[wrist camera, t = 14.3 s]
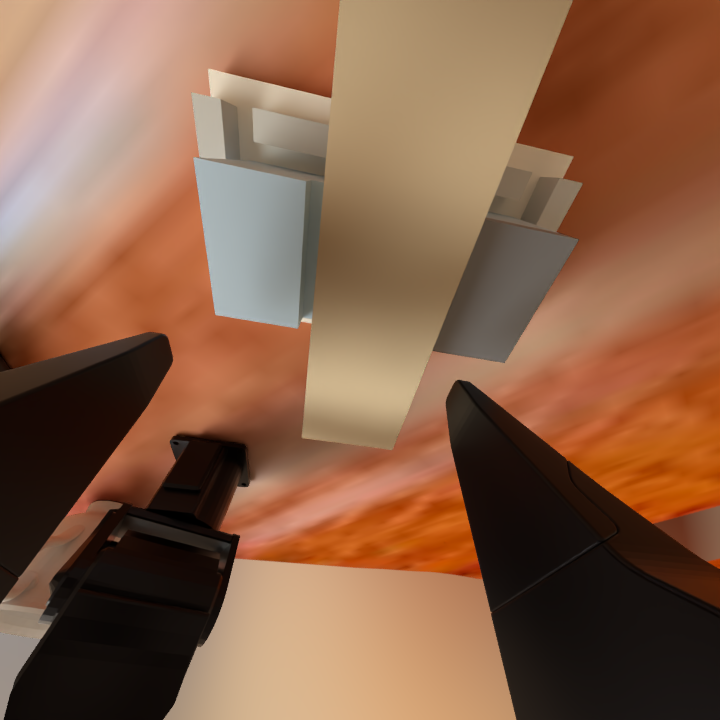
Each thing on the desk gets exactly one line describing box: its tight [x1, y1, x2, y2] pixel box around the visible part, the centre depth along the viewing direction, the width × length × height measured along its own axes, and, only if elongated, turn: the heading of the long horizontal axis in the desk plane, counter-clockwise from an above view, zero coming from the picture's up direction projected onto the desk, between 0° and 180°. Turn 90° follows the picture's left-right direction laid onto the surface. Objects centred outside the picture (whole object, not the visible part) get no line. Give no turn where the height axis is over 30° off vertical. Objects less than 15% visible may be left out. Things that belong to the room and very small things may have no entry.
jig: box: [191, 69, 583, 323], centre depth 14 cm, size 15×10×2 cm, turn 80°
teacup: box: [0, 501, 123, 639], centre depth 28 cm, size 12×15×10 cm
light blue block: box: [193, 157, 579, 363], centre depth 12 cm, size 12×5×5 cm, turn 80°
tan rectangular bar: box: [302, 0, 573, 450], centre depth 9 cm, size 14×4×3 cm, turn 170°
